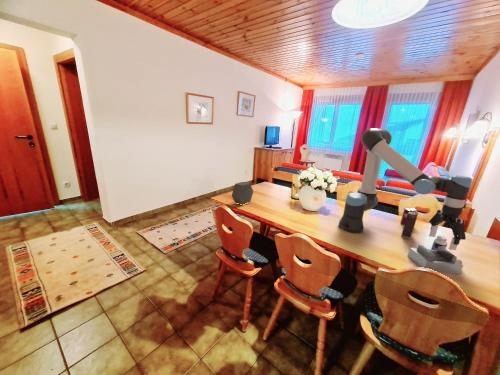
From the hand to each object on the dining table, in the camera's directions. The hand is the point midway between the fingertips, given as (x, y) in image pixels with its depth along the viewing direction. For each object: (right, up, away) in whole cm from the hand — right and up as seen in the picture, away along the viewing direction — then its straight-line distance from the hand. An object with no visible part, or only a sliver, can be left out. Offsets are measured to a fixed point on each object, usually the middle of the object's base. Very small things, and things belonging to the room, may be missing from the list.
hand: (441, 242), depth 111 cm
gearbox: (-11, -9, -9) cm, 16 cm away
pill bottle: (-1, -7, +2) cm, 7 cm away
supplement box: (-4, -1, +20) cm, 21 cm away
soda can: (+9, +3, +37) cm, 38 cm away
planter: (-110, +16, +62) cm, 128 cm away
